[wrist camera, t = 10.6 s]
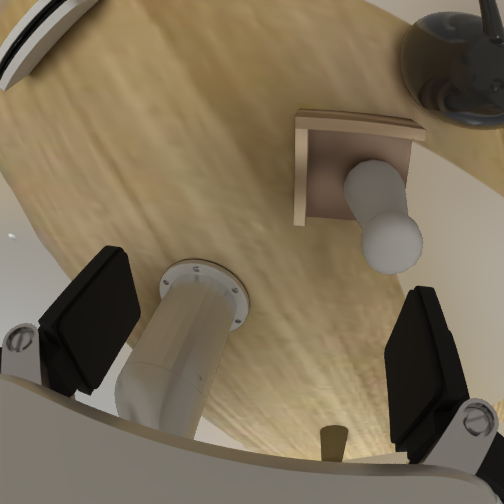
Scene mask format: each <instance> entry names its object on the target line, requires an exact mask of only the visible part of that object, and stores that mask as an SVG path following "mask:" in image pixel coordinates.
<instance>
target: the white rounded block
mask: <svg viewBox="0 0 504 504" xmlns="http://www.w3.org/2000/svg"><path fill="white" fill-rule="evenodd" d="M98 1H99V0H39V1H38V2H37V3H36V4H35V5H34V6H33V7H32V8H31V9H30V10H29V11H28V12H27V13H26V14H25V16H24V17H23V18H22V19H21V20H20V21H19V23H18V24H17V25H16V26H15V27H14V29H13V30H12V31H11V33H10V34H9V35H8V37H7V38H6V40H5V41H4V43H3V44H2V46H1V47H0V89H2V90H4V91H6V90H8V89H9V88H10V87H12V86H13V85H15V84H16V83H17V82H19V81H20V80H22V79H23V78H25V77H26V76H28V75H29V74H30V72H31V71H32V70H33V69H34V68H35V66H36V65H37V64H38V63H39V61H40V60H41V59H42V58H43V57H44V56H45V54H46V53H47V52H48V51H49V50H50V49H51V48H52V46H53V45H54V44H55V43H56V42H57V41H58V40H59V39H60V38H61V37H62V36H63V35H64V34H65V32H66V31H67V30H68V29H69V28H70V27H71V26H72V25H73V24H74V23H75V22H76V21H77V20H78V19H79V18H80V17H81V16H83V15H84V14H85V13H86V12H87V11H88V10H89V9H90V8H91V7H92V6H93V5H94V4H95V3H97V2H98Z"/></svg>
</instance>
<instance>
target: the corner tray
mask: <svg viewBox="0 0 504 504" xmlns="http://www.w3.org/2000/svg"><path fill="white" fill-rule="evenodd" d="M412 139H413V140H420V141H425V139H426V129H424V128H423V127H422V126H420V125H419V124H417V123H416V122H414V121H413V120H411V119H405V118H398V117H391V116H383V115H375V114H366V113H356V112H344V111H331V110H315V109H299V110H298V112H297V114H296V117H295V197H294V226H305V218H306V216H308V217H322V218H335V219H348V220H357V219H356V217H355V216H354V214H353V212H352V211H351V209H350V207H349V205H348V203H347V202H346V200H345V198H344V182H345V180H346V178H347V176H348V174H349V171H350V170H352V169H353V168H354V167H355V166H356V165H358V164H359V163H360V162H364V161H368V160H373V159H374V160H379V161H384V162H387V163H389V164H390V165H391V166H392V167H393V168H395V169H396V170H397V171H398V172H399V174H400V176H401V178H402V180H403V182H404V185H405V188H406V182H407V175H408V168H409V161H410V153H411V144H412Z"/></svg>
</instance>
